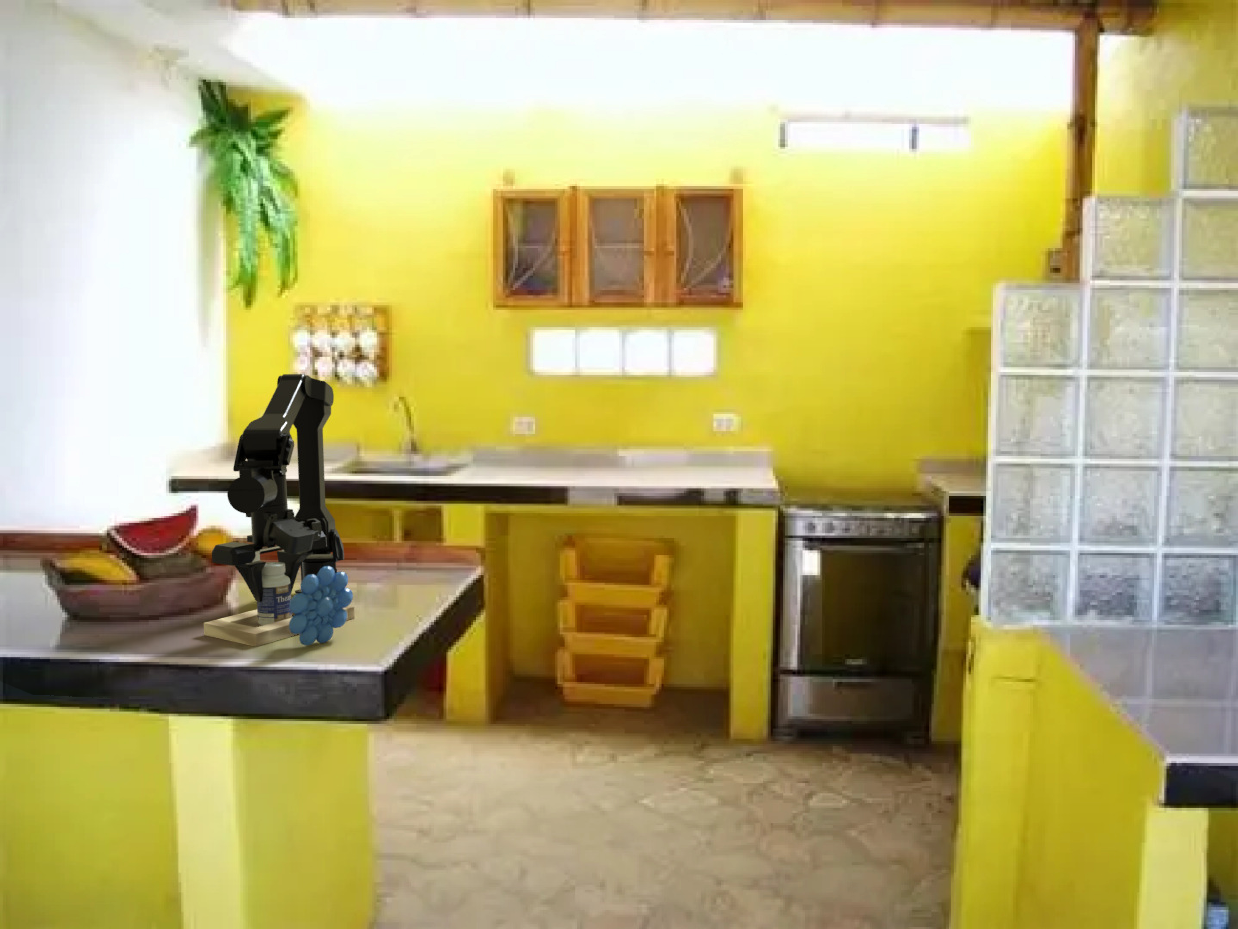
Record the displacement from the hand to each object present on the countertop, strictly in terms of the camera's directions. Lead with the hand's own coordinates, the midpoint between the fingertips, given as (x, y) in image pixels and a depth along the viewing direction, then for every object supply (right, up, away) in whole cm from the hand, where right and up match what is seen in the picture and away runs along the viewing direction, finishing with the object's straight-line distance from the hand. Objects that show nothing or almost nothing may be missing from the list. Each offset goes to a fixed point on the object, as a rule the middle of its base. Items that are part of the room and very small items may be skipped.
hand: (273, 598), depth 174 cm
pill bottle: (0, -4, 0) cm, 4 cm away
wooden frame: (+1, -5, +2) cm, 5 cm away
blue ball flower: (+10, -6, -8) cm, 14 cm away
